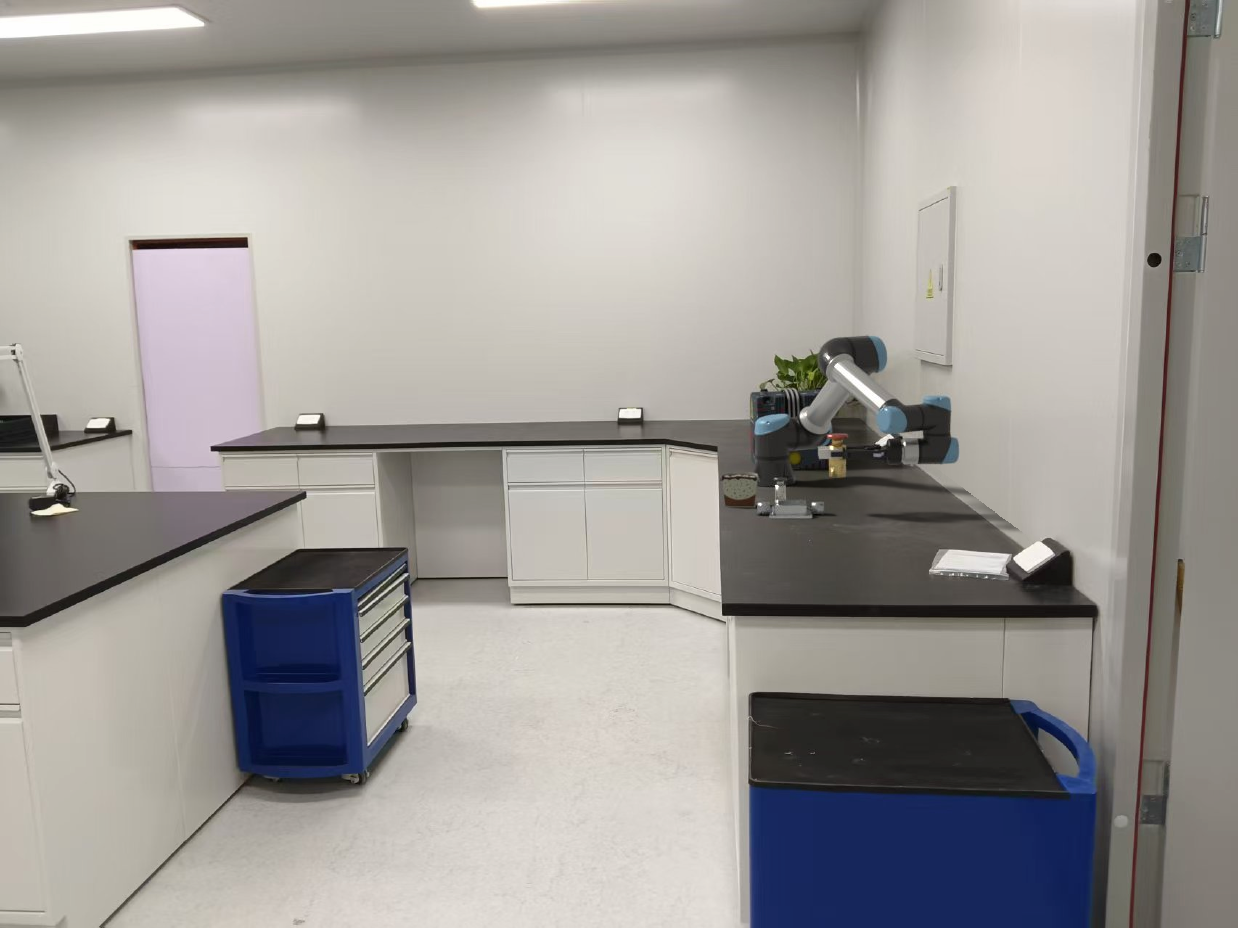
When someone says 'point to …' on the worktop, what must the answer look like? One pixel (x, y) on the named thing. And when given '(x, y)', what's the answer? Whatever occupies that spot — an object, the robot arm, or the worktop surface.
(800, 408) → the power unit
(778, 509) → the flange socket
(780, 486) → the clear glass cylinder
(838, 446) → the brass valve
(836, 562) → the worktop surface
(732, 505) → the food container
